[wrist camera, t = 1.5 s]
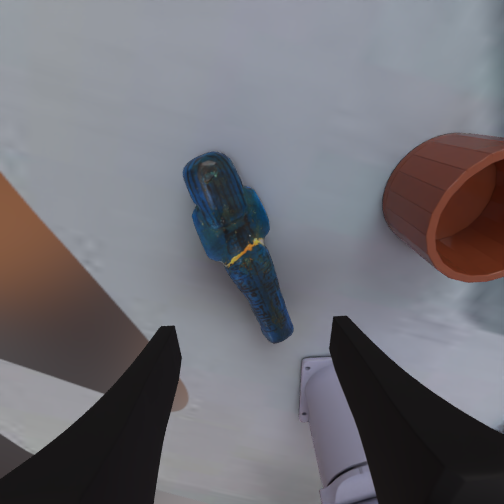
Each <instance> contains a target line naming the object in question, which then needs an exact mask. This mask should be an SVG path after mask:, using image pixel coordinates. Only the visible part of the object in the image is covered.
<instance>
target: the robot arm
mask: <svg viewBox="0 0 504 504" xmlns="http://www.w3.org/2000/svg"><path fill="white" fill-rule="evenodd" d="M329 350H330V354H331V357H319V358H305V359H304V360H303V361H302V369H301V386H300V403H299V420H300V421H301V422H309V425H310V430H311V435H312V439H313V444H314V449H315V454H316V458H317V463H318V468H319V473H320V477H321V481H322V484H323V486H324V488H323V489H320V490H319V492H320V497H321V502H322V504H504V435H503V434H501V433H499V432H498V431H496V430H494V429H492V428H490V427H488V426H486V425H485V424H483V423H481V422H479V421H478V420H476V419H474V418H473V417H471V416H469V415H468V414H466V413H464V412H463V411H461V410H459V409H458V408H456V407H455V406H453V405H451V404H450V403H448V402H447V401H445V400H444V399H442V398H441V397H439V396H438V395H436V394H435V393H433V392H432V391H431V390H429V389H428V388H426V387H425V386H424V385H422V384H421V383H420V382H418V381H417V380H416V379H414V378H413V377H412V376H410V375H409V374H408V373H407V372H405V371H404V370H403V369H402V368H401V367H399V366H398V365H397V364H396V363H395V362H394V361H392V360H391V359H390V358H389V357H388V356H387V355H386V354H385V353H384V352H383V351H382V350H381V349H379V348H378V347H377V346H376V345H375V344H374V343H373V342H372V341H371V340H370V339H369V338H368V337H367V336H366V335H365V334H364V333H363V332H362V331H361V330H360V329H359V328H358V327H357V326H356V325H355V324H354V323H353V322H352V320H351V319H350V318H349V317H347V316H333V323H332V331H331V338H330V346H329ZM181 359H182V356H181V352H180V347H179V343H178V339H177V334H176V330H175V326H161V327H160V328H159V329H158V330H157V332H156V333H155V335H154V336H153V337H152V339H151V340H150V341H149V343H148V344H147V345H146V347H145V348H144V349H143V351H142V352H141V353H140V354H139V356H138V357H137V358H136V359H135V361H134V362H133V363H132V364H131V366H130V367H129V368H128V369H127V370H126V372H125V373H124V374H123V375H122V376H121V377H120V378H119V379H118V381H117V382H116V383H115V384H114V385H113V386H112V387H111V388H110V390H108V392H106V393H105V394H104V396H102V397H101V398H100V399H99V400H98V401H97V402H96V403H95V404H94V405H93V406H92V407H91V408H90V409H89V410H88V411H87V412H86V413H85V414H84V415H83V416H81V417H80V418H79V419H78V420H77V421H76V422H75V423H74V424H72V425H71V426H70V427H69V428H68V429H67V430H65V431H64V432H63V433H62V434H60V435H59V436H58V437H57V438H56V439H54V440H53V441H52V442H50V443H49V444H48V445H47V446H45V447H44V448H43V449H42V450H40V451H39V452H38V453H36V454H35V455H34V456H32V457H31V458H29V459H28V460H27V461H25V462H24V463H23V464H21V465H20V466H18V467H17V468H15V469H14V470H12V471H11V472H10V473H8V474H7V475H5V476H4V477H3V478H1V479H0V504H154V496H155V490H156V483H157V477H158V470H159V464H160V458H161V452H162V446H163V440H164V436H165V431H166V427H167V424H168V420H169V416H170V412H171V408H172V404H173V401H174V397H175V393H176V389H177V384H178V381H179V374H180V367H181Z"/></svg>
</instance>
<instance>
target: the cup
mask: <svg viewBox="0 0 504 504" xmlns="http://www.w3.org/2000/svg"><path fill="white" fill-rule="evenodd" d="M383 213H384V217H385V220H386V222H387V224H388V226H389V227H390V229H391V230H392V231H393V232H394V233H395V234H396V235H397V236H398V237H399V238H400V239H401V240H402V241H404V242H405V243H406V244H407V245H408V246H410V247H411V248H412V249H413V250H414V251H415V252H417V253H418V254H419V255H420V256H421V257H423V258H424V259H425V260H426V261H427V262H428V263H430V264H431V265H432V266H433V267H434V268H436V269H437V270H438V271H440V272H441V273H442V274H444V275H445V276H447V277H448V278H451V279H455V280H459V281H463V282H468V283H470V282H487V281H491V280H494V279H498V278H501V277H504V138H503V137H495V136H487V135H479V134H471V133H467V134H466V133H450V134H444V135H440V136H437V137H435V138H432V139H430V140H428V141H426V142H424V143H422V144H421V145H419V146H417V147H416V148H415V149H413V150H412V151H411V152H410V153H408V154H407V155H406V156H405V157H404V158H403V159H402V160H401V162H400V163H399V164H398V165H397V166H396V168H395V169H394V171H393V173H392V174H391V176H390V178H389V180H388V182H387V185H386V188H385V191H384V195H383Z"/></svg>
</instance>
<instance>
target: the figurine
mask: <svg viewBox="0 0 504 504" xmlns="http://www.w3.org/2000/svg"><path fill="white" fill-rule="evenodd" d="M183 178H184V181H185V183H186V186H187V189H188V191H189V193H190V196H191V198H192V200H193V202H194V204H196V208H195V209H194V211H193V214H192V218H193V222H194V225H195V228H196V231H197V233H198V235H199V238H200V240H201V243H202V245H203V247H204V250H205V252H206V254H207V256H208V257H209V258H210V259H212V260H215V261H221V262H222V263H223V265H224V267H225V269H226V271H227V273H228V275H229V276H230V277H231V279H232V280H233V282H234V283H235V284H236V285H237V287H238V288H239V289H240V291H241V292H242V293H243V294H244V295H245V296H246V298H247V299H248V301H249V303H250V305H251V308H252V310H253V312H254V314H255V316H256V318H257V320H258V322H259V324H260V326H261V331H262V333H263V334H264V336H265V337H266V338H267V340H268V341H270V342H271V343H274V344H275V343H279V342H282V341H284V340H285V339H287V338H288V337H289V336H291V335H292V333H293V331H294V327H293V324H292V322H291V319H290V317H289V314H288V312H287V309H286V306H285V302H284V299H283V297H282V294H281V292H280V288H279V283H278V279H277V276H276V272H275V269H274V265H273V262H272V259H271V257H270V254H269V252H268V250H267V248H266V247H265V245H264V243H263V240H264V238H265V236H266V235H267V234H268V232H269V230H270V225H269V219H268V217H267V214H266V212H265V209H264V207H263V205H262V203H261V201H260V199H259V198H258V196H257V194H256V192H255V191H254V190H253V189H252V188H250V187H247V186H242V182H241V179H240V177H239V175H238V173H237V171H236V168H235V167H234V165H233V163H232V161H231V160H230V159H229V158H228V157H227V156H226V155H224V154H222V153H219V152H214V151H213V152H208V153H205V154H203V155H200V156H198V157H196V158H194V159H192V160H191V161H190V162H188V163H187V164H186V166H185V167H184V169H183Z"/></svg>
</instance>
